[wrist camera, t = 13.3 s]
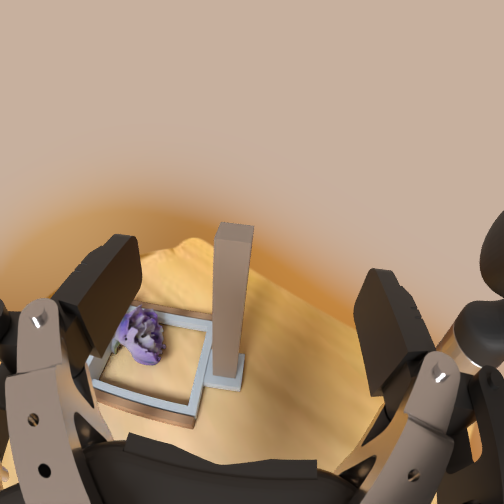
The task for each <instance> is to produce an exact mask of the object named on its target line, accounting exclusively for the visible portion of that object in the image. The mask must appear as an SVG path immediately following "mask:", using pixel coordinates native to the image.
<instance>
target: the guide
mask: <svg viewBox="0 0 504 504" xmlns="http://www.w3.org/2000/svg"><path fill="white" fill-rule="evenodd" d="M141 304H142V306H141V308H143V309H152V308H153V310H154V311H158V312H163V313H168V314H173V315H179V316H184V317H190V318H196V319H202V320H208V321H212V314H206V313H200V312H194V311H188V310H182V309H176V308H171V307H166V306H160V305H155V304H150V303H145V302H140V301H136V300H133V301H132V303H131V306H134V307H137V306H139V305H141ZM94 392H95V396H96V399H97V402H100V403H103V404H105V405H108V406H111V407H114V408H116V409H119V410H122V411H125V412H128V413H131V414H135V415H138V416H141V417H145V418H148V419H152V420H155V421H159V422H163V423H167V424H171V425H175V426H180V427H184V428H189V429H193V428H194V423H195V420H194V417H191V416H186V415H181V414H177V413H173V412H168V411H164V410H160V409H157V408H153V407H149V406H146V405H142V404H139V403H135V402H132V401H129V400H126V399H123V398H120V397H117V396H114V395H111V394H108V393H105V392H102V391H100V390H97V389H94Z"/></svg>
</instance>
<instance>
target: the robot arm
mask: <svg viewBox="0 0 504 504" xmlns="http://www.w3.org/2000/svg"><path fill="white" fill-rule="evenodd" d="M480 271H481V275H482V278H483V280H484V282H485V283H486V284H487V285H488V286H489V288H491V290H492V291H494V292H495V293H497V294H498V295H500V296H502V297H503V298H504V211H503V212H502V213H501V214H500V215H499V216H498V218H497V219H496V220H495V222H494V223H493V225H492V226H491V228H490V230H489V232H488V234H487V236H486V238H485V240H484V243H483V245H482V249H481V254H480ZM141 283H142V268H141V262H140V255H139V248H138V242H137V239H136V237H135V236H129V235H121V234H114V235H113V236H112V237H111V238H110V239H109V240H108V241H107V242H106V243H105V244H104V245H103V246H100V247H99V248H97V249H95V250H93V251H92V252H90V253H89V254H88V255H87V256H86V257H85V258H84V260H83V261H82V262H81V264H79V265H78V266H77V267H76V269H75V271H74V272H72V273H71V275H69V277H68V278H67V279H66V280H65V281H64V283H63V284H62V285H61V286H60V287H59V289H58V290H57V291H56V292H55V294H54V295H53V296H52V297H51V299H48V298H41V299H37V300H34V301H32V302H31V303H29V304H28V305H27V306H26V307H25V308H24V309H23V310H22V312H14V311H12V312H11V311H7V309H6V307H5V305H4V303H3V301H2V300H1V299H0V361H1V362H2V363H1V365H0V504H431V502H432V500H433V498H434V496H435V494H436V492H437V504H504V378H503V376H502V375H501V373H500V372H499V371H498V370H497V368H498V367H499V366H500V365H501V363H502V362H503V361H504V299H502V300H498V301H473V302H470V303H469V304H467V305H466V306H465V307H464V308H463V310H462V311H461V312H460V314H459V315H458V317H457V319H456V320H455V322H454V323H453V324H452V326H451V327H450V329H449V330H448V331H447V333H446V334H445V336H444V337H443V339H442V340H441V341H440V342H439V344H438V345H437V346H436V348H435V346H434V343H433V341H432V339H431V336H430V334H429V332H428V329H427V327H426V325H425V323H424V321H423V319H421V314H420V312H419V310H417V306H416V304H415V302H414V300H413V298H412V296H411V295H410V294H409V293H408V292H407V291H406V290H405V289H404V288H403V286H400V285H399V283H398V281H397V279H396V277H395V275H394V273H393V272H392V271H390V270H382V269H375V268H372V269H370V270H369V272H368V274H367V276H366V279H365V281H364V283H363V286H362V288H361V290H360V293H359V295H358V297H357V300H356V302H355V305H354V313H353V314H354V321H355V325H356V329H357V334H358V338H359V342H360V346H361V351H362V355H363V360H364V364H365V369H366V374H367V379H368V384H369V390H370V395H371V397H376V396H384V401H385V402H384V403H383V404H382V405H381V406H380V408H379V410H378V412H377V413H376V415H375V417H374V419H373V420H372V422H371V424H370V425H369V427H368V429H367V430H366V432H365V434H364V435H363V437H362V438H361V440H360V441H359V443H358V444H357V446H356V447H355V449H354V450H353V451H352V452H351V454H350V455H349V456H347V457H346V458H345V459H344V461H343V462H342V463H341V464H340V465H339V466H338V467H337V469H336V470H335V471H334V472H333V473H331V472H328V471H325V470H322V469H318V468H317V460H278V459H269V460H263V461H256V462H248V463H240V464H230V465H218V464H215V463H212V462H210V461H207V460H205V459H202V458H200V457H198V456H195V455H193V454H191V453H189V452H187V451H184V450H182V449H180V448H178V447H176V446H174V445H172V444H168V443H164V442H160V441H156V440H153V439H149V438H146V437H142V436H139V435H136V434H133V433H130V432H129V434H128V437H127V440H118V441H114V439H113V437H112V435H111V432H110V430H109V428H108V426H107V424H106V423H105V421H104V419H103V417H102V415H101V413H100V410H99V406H98V403H97V399H96V396H95V392H94V388H93V384H92V380H91V376H90V372H89V367H88V364H87V362H86V361H87V359H88V357H89V355H92V356H94V357H97V358H100V359H102V357H103V355H104V353H105V351H106V349H107V347H108V345H109V343H110V342H111V340H112V338H113V336H114V334H115V332H116V330H117V328H118V326H119V325H120V323H121V321H122V319H123V317H124V316H125V314H126V312H127V310H128V308H129V307H130V305H131V303H132V301H133V300H134V298H135V296H136V294H137V293H138V291H139V289H140V286H141ZM475 421H477V424H478V428H479V433H480V437H481V442H482V454H481V457H480V458H479V459H478V460H477V461H476V462H475V463H474V462H473V459H472V453H471V448H470V442H469V436H468V432H467V427H469V426H470V425H471V424H473V423H474V422H475ZM9 437H10V444H11V449H12V455H13V460H14V464H15V469H16V473H17V477H18V481H19V483H17V484H15V485H13V486H11V487H8V488H6V489H3V485H2V481H3V482H6V481H8V479H9V473H8V471H7V469H6V468H5V467H4V466H2V464H1V463H2V459H3V456H4V453H5V449H6V446H7V443H8V440H9Z"/></svg>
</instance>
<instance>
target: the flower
mask: <svg viewBox="0 0 504 504" xmlns="http://www.w3.org/2000/svg"><path fill="white" fill-rule="evenodd" d="M141 306H142V304H141V305H139V306H137V307H136V308H135V309H134V310H132V311H131V312H129V313H127V314H125V316H124V317H123V319H122V321H121V323H120V325H119V326H118V328H117V331H116V334H115V336H114V338H113V339H112V345H111V351H112V352H113V353H114V354H117V347H118V346H119V345H120V343H121V344H122V345H124V346H125V347H126V348H127V349H128V350H129V351H130V352H131V354H132V357H133V358H134V360H135V361H137V362H138V363H141V364H144V365H156V364H157V363H158V362H159V361H160V359H161V357H159V356H158V354H162V350H161V348H163V349H165V348H166V345H165V344H162V342H163V339H164V338H163V335H162V332H163V329H162V326H160V325H159V323H158V315H157V314H156V313H155V312H154V310H153V308H152V309H144V310H143V309H142V308H141Z"/></svg>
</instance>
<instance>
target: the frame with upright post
mask: <svg viewBox="0 0 504 504" xmlns="http://www.w3.org/2000/svg"><path fill="white" fill-rule="evenodd" d="M253 232H254V226H250V225H242V224H233V223H225V222H221V223H220V225H219V228H218V231H217V233H216V235H215V238H214V261H213V312H212V321H208V320H202V319H196V318H190V317H184V316H179V315H173V314H168V313H163V312H158V311H154V312H155V313H156V314H157V315H158V323H162V324H167V325H172V326H177V327H183V328H188V329H194V330H199V331H205V332H207V333H206V337H205V340H204V344H203V348H202V352H201V356H200V360H199V364H198V368H197V371H196V375H195V379H194V383H193V387H192V391H191V396H190V400H189V404H188V406H187V405H182V404H178V403H173V402H169V401H165V400H161V399H157V398H153V397H149V396H146V395H142V394H139V393H135V392H132V391H129V390H125V389H122V388H119V387H116V386H113V385H110V384H107V383H104V382H102V381H99V377H100V375H101V373H102V371H103V369H104V367H105V365H106V363H107V360H108V358H109V356H110V354H111V352H112V351H111V345H112V340H111V342H110V343H109V345H108V347H107V349H106V351H105V353H104V355H103V357H102V359H100V358H97V357H94V356H92V355H89V357H88V359H87V361H86V362H87V364H88V367H89V372H90V376H91V380H92V384H93V388H94V389H97V390H100V391H102V392H105V393H108V394H111V395H114V396H117V397H120V398H123V399H126V400H129V401H132V402H135V403H139V404H142V405H146V406H149V407H153V408H157V409H160V410H164V411H168V412H173V413H177V414H181V415H186V416H191V417H194V419H196V418H197V413H198V408H199V404H200V399H201V395H202V390H203V386H207V387H212V388H219V389H225V390H232V391H239V392H240V389H241V382H242V374H243V366H244V358H245V354H240V353H239V348H240V340H241V331H242V323H243V315H244V306H245V298H246V290H247V282H248V273H249V265H250V257H251V248H252V240H253ZM135 308H136V307H134V306H131V305H130V307H129V308H128V310H127V312H126V314H127V313H129V312H131V311H132V310H134V309H135ZM142 309H143V308H142ZM143 310H144V309H143ZM116 331H117V330H116ZM115 334H116V332H115ZM115 334H114V336H115ZM114 336H113V338H114ZM113 338H112V339H113Z"/></svg>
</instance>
